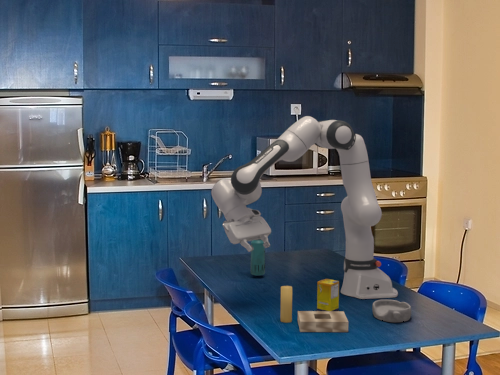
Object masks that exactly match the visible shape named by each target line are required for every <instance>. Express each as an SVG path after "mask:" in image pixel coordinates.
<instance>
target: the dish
mask: <svg viewBox="0 0 500 375" xmlns="http://www.w3.org/2000/svg"><path fill="white" fill-rule="evenodd" d="M371 308H372V314H373V317H374V318H376V319H377V320H380V321H382V320H383V321H382V322H387V323H404V322H407V321H410V319H411V316H412V306H411V305H410V304H409V303H408V302H405V301H399V300H397V299H395V300H394V299H378V300H375V301H374V302H372V307H371ZM403 321H404V322H403Z"/></svg>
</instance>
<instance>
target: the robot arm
mask: <svg viewBox="0 0 500 375" xmlns="http://www.w3.org/2000/svg"><path fill="white" fill-rule="evenodd" d="M314 145H315V146H317V147H319V148H322V149H329V150H334V149H335V150H336V151H337V152H338V156H339V165H340V171H341V172H340V173H341V179H342V185H343V186H344V189H345V192H346V196H345V197H344V198H343V199H342V201H341V204H340V210H341V214H342V217H343V218H342V220H343V227H344V234H345V256H344V258H343V271H344V274H343V282H342V286H341V289H340V293H341V294H342V295H344V296H348V297H352V298H356V299H359V300H361V299H362V300H365V299H367V300H368V299H370V300H371V299H387V298H388V299H390V298H397V297H398V295H399V292H398V290H397V289H396V288H394V287H393V282H392V280H391V278H390V276H389V275H387V274H386V273H385V272H384V271H383V270H381V269H380V267H381V266H382V262H381V261H380V260H378V259H376V258H374V254H375V252H374V251H375V250H374V249H375V246H374V245H375V240H374V239H375V237H374V235H373V231H372V227H374V226H375V225H377V224H378V223H379V222H380V221H381V219H382V216H383V215H382V214H383V213H382V209H381V207H380V205H379V202H378V199H377V196H376V191H375V188H374V186H373V181H372V177H371V170H370V163H369V156H368V151H367V145H366V144H365V140H364V138H363V137H362V135H360V134H358V133H355V131H354V130H353V127H352V126H351V125H350V124H349V123H348V122H347V121H344V120H336V119H329V120H319V121H318V120H317V119H316V118H314V117H312V116H310V115H306V116H305V115H304V116H303V117H300V119H298V120H297V121H295V122H294V123H293V124H291V125H289V127H288V128H287V129H286V130H284V132H283V133H282V134H281V135H280V136H279V137H278V138H277V139H275V140H274V141H273V142H272V143H270V144H269V145H268V146H267V147H266V148H264V150H262V151H261V152H260V153H259V154H257V155H256V156H255V157H254V158H253V159H252V160H250V161H248V162H247V163H244V164H242V165H240V166H238V167H236V169H235V170H233V172H232V173H231V176H230V179H226V178H222V179H220V180H218V181H216V182H215V184H213V186H212V188H211V191H210V193H211V198H212V199H213V201H214V203H215V205H216V206H217V208H218V210H220V211H221V212H222V214H223V216H224V218H225V220H224V221H223V222H222V227H223V229H224V232H225V234H226V236H227V238H228V240H229V242H230V243H231V244H233V245H237V244H240V246H242V247H243V248H245V249H246V251H247V252H250V253H251V251H252V250H253V249H254V248H253V247H252V245H251V244H250V243H248V242H251V241H252V240H257V239H261V240H262V241H263V242H264V244H263V246H264V247H265V249H267V248H270V247H271V244H270V242H269V238H268V237H269V236H270V235H271V233H272V228H271V227H270V226H269V224H268V222H267V221H266V220H265V218H264V217H263V216H261V215H262V213H261V211H260V210H258V209H253V208H250V207H248V205H251V204H253V203H255V202H257V201H258V200H259V199H260V197H261V196H262V194H263V188H262V185H261V178H262V176H263V175H264V174H265V173H266V172H267V171H268V170H269V169H271V168H272V167H273V166H274V165H275V164H276V163H278V162H280V161H284V162H288V163H289V162H295V161H296V160H298V159H300V158H301V157H302V156H303V155H305V153H306V152H308V150H309V149H310V148H311V147H312V146H314Z"/></svg>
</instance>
